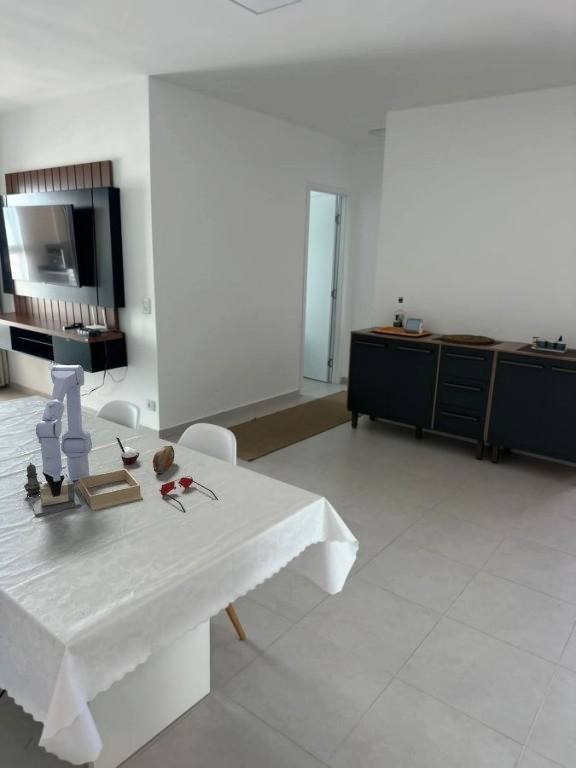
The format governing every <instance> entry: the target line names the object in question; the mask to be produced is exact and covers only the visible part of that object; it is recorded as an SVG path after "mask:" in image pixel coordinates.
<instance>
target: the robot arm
mask: <svg viewBox="0 0 576 768" xmlns="http://www.w3.org/2000/svg"><path fill="white" fill-rule="evenodd" d="M50 379H51V381H52V384H53V387H52V394H51V399H50V401H48V402H46V404H45V407H44V411H43V414H42V418H41V420H40V421H38V422H37V423H36V426H35V435H36V437H37V439H38V440H37V441H38V444H40V453H41V461H42V475H43V476H44V479H45V481H46V483H48V484H49V486H50V489H51V492H52V495H53V497H56V496H60V493H61V486H62V482H63V481H64V480H65V475H63V474H62V475H61V473H62V472H63V469H66V468H67V471H65V474H66V476H67V478H68V480H70V479H72V481H73V482H74V481H79V478H83V477H88V476H93V475H92V473H91V471H90V467H89V466H90V464H89V454H90V453H91V451H92V448H93V441H92V437H91V433H90V432H89V431H88V430H87V429H84V427H83V424H82V423H83V422H82V405H81V404H82V403H81V401H82V400H81V387H82V386H84V385H85V370H84V368H83V367H82V365H81V364H76V365H71V364H70V365H66V364H65V365H58V364H54V365H53V366H52V367H51V369H50ZM65 397H66V414H67V430H66V431H65V432H64V433H63V434H62V426H63V425H62V423H63V422H62V418H63V413H64V411H65V405H64V404H63V403H64V400H65ZM60 436H61V440H60ZM60 441H61V443H60ZM61 452H62V453H63V454H64V455H65V457H66V462H67V463H66V464H67V466H66V464H63V463H62V462H63V461H62V455H61V454H62V453H61Z"/></svg>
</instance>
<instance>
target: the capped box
mask: <svg viewBox="0 0 576 768" xmlns="http://www.w3.org/2000/svg"><path fill="white" fill-rule="evenodd" d="M39 491H40V500H41V503H42V505H43V506H45V505H51V504H56V503H61V502H67V501H72V500H75V495H74V492H75V483H74V481H72V479H70V480H69V479H64V480H63V482H62V486H61V493H60V496H56V497H53V495H52V492H51V489H50V486H49V484H48V483H47V482H46V483H42V484H40V490H39Z"/></svg>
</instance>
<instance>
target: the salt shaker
mask: <svg viewBox="0 0 576 768" xmlns="http://www.w3.org/2000/svg"><path fill="white" fill-rule="evenodd" d="M38 476H39V475H38V473H37V468H36V465H35V464H32V462H30V463H29V465H27V466H26V478H27V482H26V483H25V484H24V485H23V488H24V490H25V491H26V492H27V493H26V494H25V496H26V495H27V497H26V498H28V496H29V497H33V498H37V497H36V496H38V497H39V495H40V484H43V482H42V481H38Z"/></svg>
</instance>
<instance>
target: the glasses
mask: <svg viewBox="0 0 576 768" xmlns="http://www.w3.org/2000/svg"><path fill="white" fill-rule="evenodd" d="M193 479H194V478H193V477H192V476H190V475H189V476H188V475H187V476H185V477H183V476H182V477H181V478H179V479H176V480H172V481H170V482H169V481H168V482H167V483H166V482H165V484H162V485H161V488H160V489H159V490H158V491H159V492H160V494H161V495H162V497H164V496H167V497H169V498H170V499H172V500H173V501H175V502H177V503H178V504H179V506H180V507H181V508H182V509H181V510H182V511H183V512H184V513H186V510H185V508H184V506H183V504H182V503H181V502H180V501H179V500H177V499H176V498H174V497H172V496H171V495H169V493H170V492H172V491H174V490H177V486H176V485H175V483H176V482H177V481H178V482H177V484H178V486H179V487H180V488H182V487H183V488H184V489H189V488H190V486H191V485H192V484H193V483H194V484H196V485H198V486H200V487H201V488H204V489H205V490H207V491H209V492H210V493H211V494H212V495H213V497H214V498H215V499H217V501H219V498H218V497H217V495H216V493H214V492H213V491H212V490H211V489H209V488H207V487H205V486H204V485H202V484H200V483H198V482H196V481H195V480H193Z"/></svg>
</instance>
